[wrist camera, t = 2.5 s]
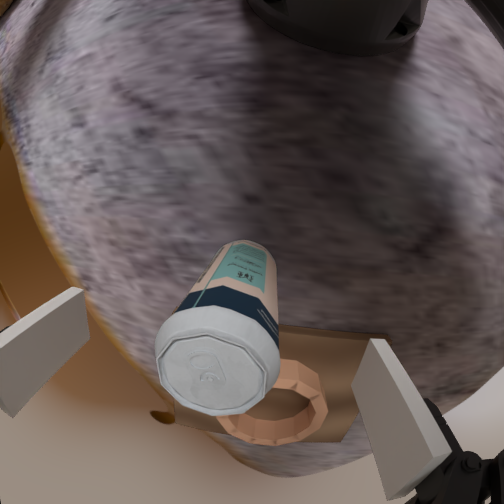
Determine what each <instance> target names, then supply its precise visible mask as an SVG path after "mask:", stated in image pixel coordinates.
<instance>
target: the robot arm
mask: <svg viewBox="0 0 504 504" xmlns="http://www.w3.org/2000/svg"><path fill="white" fill-rule="evenodd" d="M247 2H248V3H249V5H250V6H251V8H252V9H253V10H254V12H255V13H256V14H257V15H258V16H259V17H260V18H261V19H262V20H264V21H265V22H266V23H267V24H269V25H270V26H271V27H273V28H274V29H276V30H278V31H279V32H281V33H283V34H285V35H286V36H288V37H290V38H293V39H295V40H297V41H299V42H302V43H304V44H307V45H310V46H313V47H316V48H319V49H322V50H326V51H330V52H335V53H340V54H347V55H358V56H370V55H380V54H385V53H389V52H391V51H394V50H396V49H398V48H400V47H401V46H403V45H404V44H405V43H406V42H407V41H408V40H409V39H410V38H411V37H413V36H414V35H415V34H416V33H417V31H418V30H419V28H420V27H421V25H422V22H423V19H424V15H425V11H426V7H427V2H428V0H247ZM465 2H466V3H467V4H468V5H469V6H470V7H471V8H472V9H473V10H474V12H475V13H476V14H477V15H478V16H479V17H480V19H481V20H482V21H483V22H484V23H485V25H486V26H487V27H488V28H489V30H490V31H491V32H492V34H493V35H494V36H495V38H496V39H497V40H498V42H499V43H500V45H501V46H502V48H503V49H504V0H465ZM89 339H90V334H89V328H88V321H87V314H86V306H85V297H84V290H83V289H79V288H76V287H71V288H69V289H67V290H66V291H64V292H63V293H61V294H59V295H58V296H56V297H55V298H53V299H51V300H50V301H48V302H47V303H45V304H43V305H42V306H40V307H39V308H37V309H36V310H34V311H32V312H31V313H29V314H28V315H26V316H25V317H23V318H22V319H20V320H19V321H17V322H16V323H14V324H13V325H11V326H8V327H6V328H4V329H3V330H2V331H0V408H1V409H2V410H3V411H4V412H5V413H7V414H8V415H9V416H10V417H12V418H13V417H15V415H16V414H17V413H18V412H19V411H20V410H21V409H22V408H23V406H24V405H25V404H26V403H27V402H28V401H29V400H30V399H31V398H32V397H33V396H34V395H35V394H36V392H38V390H39V389H40V388H41V387H42V386H43V385H44V384H45V383H46V382H47V381H48V380H49V379H50V378H51V377H52V376H53V375H54V374H55V373H56V372H57V371H58V370H59V369H60V368H61V367H62V366H63V365H64V364H65V363H66V362H67V361H68V360H69V359H70V358H71V357H72V356H73V355H74V354H75V353H76V352H77V351H78V350H79V349H80V348H81V347H82V346H83V345H84V344H85V343H86V342H87V341H88V340H89ZM351 387H352V390H353V393H354V396H355V399H356V402H357V405H358V408H359V411H360V414H361V417H362V420H363V423H364V426H365V429H366V432H367V435H368V438H369V441H370V444H371V448H372V451H373V454H374V457H375V461H376V464H377V467H378V471H379V474H380V477H381V481H382V484H383V488H384V492H385V495H386V499H387V501H388V500H393V499H397V498H401V497H404V496H406V495H407V494H409V493H410V492H411V491H412V490H413V489H414V488H415V489H416V492H417V494H416V495H415V496H414V497H413V498H411V499H410V500H409V501H407V502H406V503H405V504H485V500H486V499H488V498H489V497H490V496H491V502H490V503H489V504H504V450H502V451H501V452H500V453H499V454H498V455H497V456H496V457H495V458H494V459H485V460H482V459H481V458H480V457H479V456H478V454H476V453H474V452H471V451H465V452H463V450H462V449H461V447H460V445H459V443H458V441H457V440H456V438H455V436H454V435H453V433H452V431H451V429H450V428H449V426H448V425H446V421H445V419H444V418H443V417H442V414H441V412H440V411H439V409H438V408H437V406H436V405H435V404H434V403H432V402H431V401H430V400H429V399H428V398H426V399H422V397H421V395H420V394H419V392H418V390H417V389H416V387H415V385H414V384H413V382H412V381H411V379H410V377H409V376H408V374H407V373H406V371H405V369H404V368H403V366H402V365H401V363H400V362H399V360H398V358H397V357H396V355H395V354H394V352H393V351H392V349H391V348H390V346H389V345H388V343H387V342H386V340H385V339H372V338H370V340H369V343H368V345H367V348H366V351H365V353H364V356H363V358H362V361H361V363H360V365H359V368H358V370H357V373H356V375H355V377H354V379H353V382H352V384H351ZM0 504H1V501H0Z"/></svg>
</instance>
